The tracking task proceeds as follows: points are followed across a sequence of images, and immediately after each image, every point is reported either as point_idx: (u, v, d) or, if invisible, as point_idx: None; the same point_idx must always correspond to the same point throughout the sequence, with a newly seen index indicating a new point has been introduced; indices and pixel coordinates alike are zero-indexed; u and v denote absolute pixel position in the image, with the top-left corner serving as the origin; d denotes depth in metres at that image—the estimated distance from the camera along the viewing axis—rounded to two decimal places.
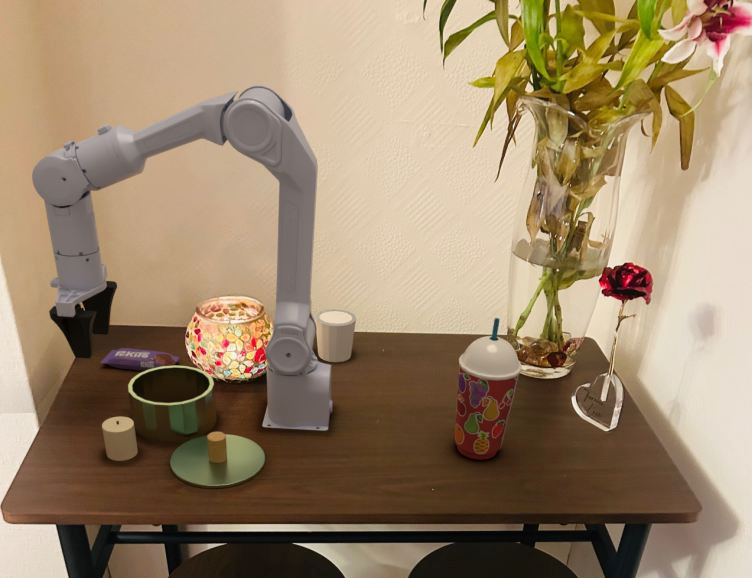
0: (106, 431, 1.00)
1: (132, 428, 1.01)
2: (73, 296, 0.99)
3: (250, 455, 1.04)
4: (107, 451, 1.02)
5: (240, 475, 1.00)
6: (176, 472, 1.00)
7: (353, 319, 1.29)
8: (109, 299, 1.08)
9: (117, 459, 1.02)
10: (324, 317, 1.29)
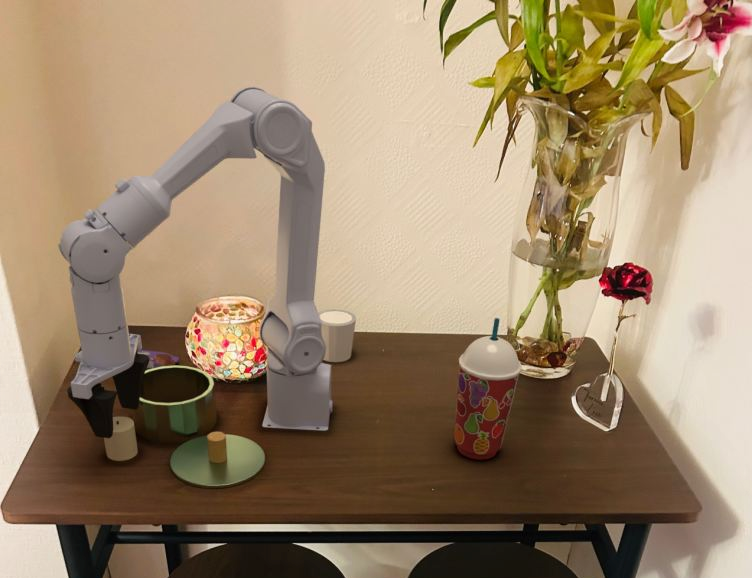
0: None
1: (132, 428, 1.01)
2: (92, 376, 0.92)
3: (250, 455, 1.04)
4: (107, 451, 1.02)
5: (240, 475, 1.00)
6: (176, 472, 1.00)
7: (353, 319, 1.29)
8: (139, 374, 1.01)
9: (117, 459, 1.02)
10: (324, 318, 1.29)
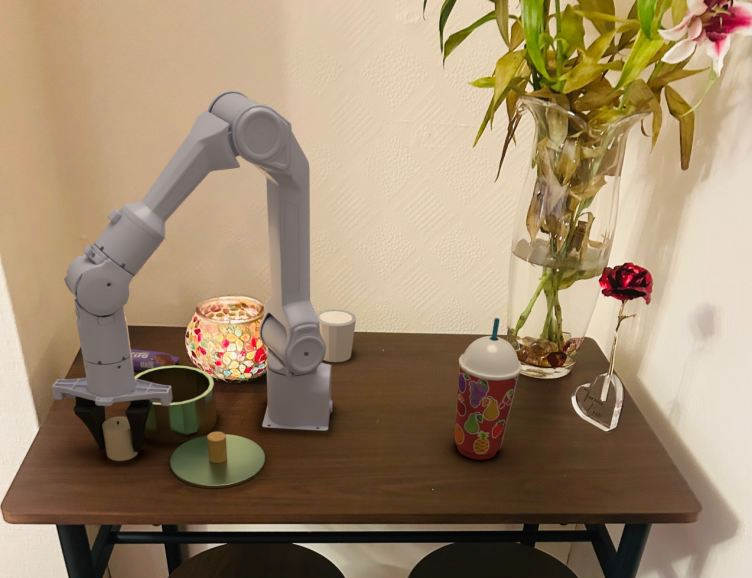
0: (107, 431, 1.00)
1: None
2: (150, 388, 0.99)
3: (250, 455, 1.04)
4: (107, 451, 1.02)
5: (240, 475, 1.00)
6: (176, 472, 1.00)
7: (353, 319, 1.29)
8: None
9: (117, 459, 1.02)
10: (324, 317, 1.29)
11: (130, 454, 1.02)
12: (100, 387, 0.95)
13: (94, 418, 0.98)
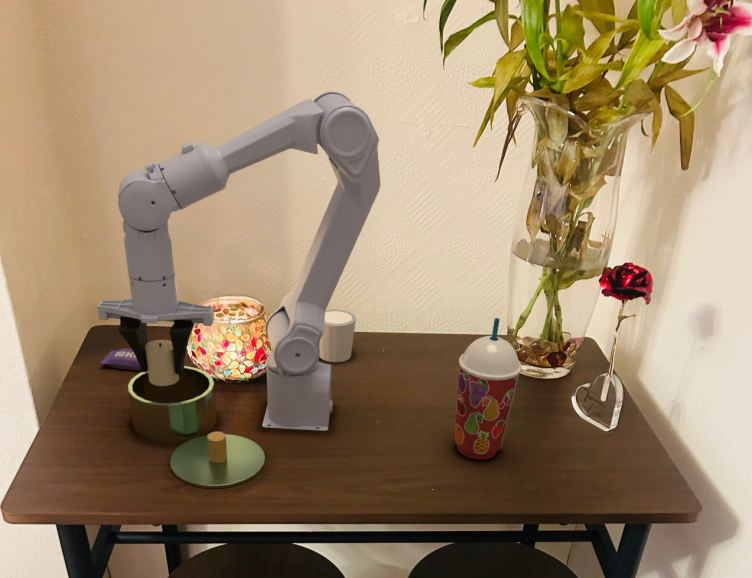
0: (150, 351, 1.02)
1: None
2: None
3: (250, 455, 1.04)
4: (149, 373, 1.04)
5: (240, 475, 1.00)
6: (176, 472, 1.00)
7: (353, 319, 1.29)
8: (146, 326, 1.04)
9: (159, 380, 1.04)
10: None
11: (172, 376, 1.04)
12: (145, 305, 0.97)
13: (138, 338, 1.01)
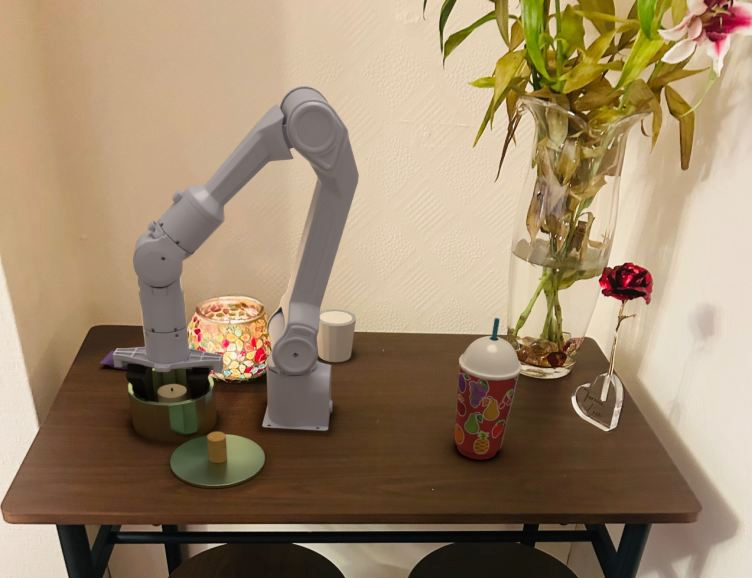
0: (162, 397, 1.07)
1: (185, 394, 1.08)
2: (203, 356, 1.06)
3: (250, 455, 1.04)
4: None
5: (240, 475, 1.00)
6: (176, 472, 1.00)
7: (353, 319, 1.29)
8: (152, 371, 1.09)
9: None
10: (324, 318, 1.29)
11: None
12: (159, 354, 1.02)
13: (144, 384, 1.06)
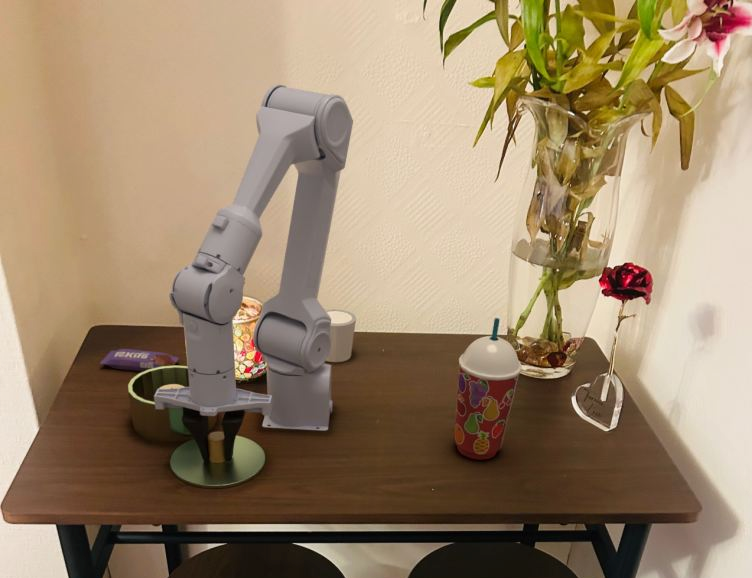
0: None
1: None
2: (251, 397, 0.98)
3: (250, 455, 1.04)
4: None
5: (240, 475, 1.00)
6: (176, 472, 1.00)
7: (353, 319, 1.29)
8: None
9: None
10: None
11: None
12: (205, 397, 0.94)
13: (201, 428, 0.98)
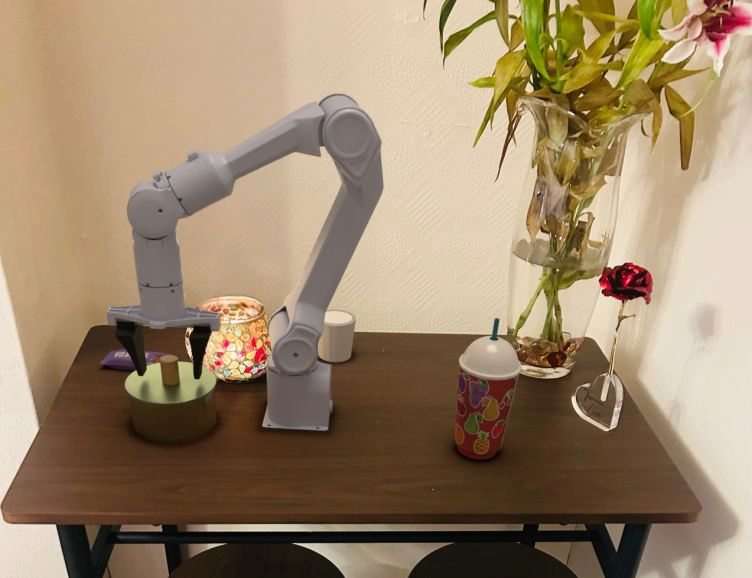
0: None
1: None
2: None
3: (202, 379, 1.09)
4: None
5: (191, 395, 1.05)
6: (129, 392, 1.04)
7: (353, 319, 1.29)
8: (142, 331, 1.06)
9: None
10: None
11: None
12: (154, 311, 0.99)
13: (134, 342, 1.02)
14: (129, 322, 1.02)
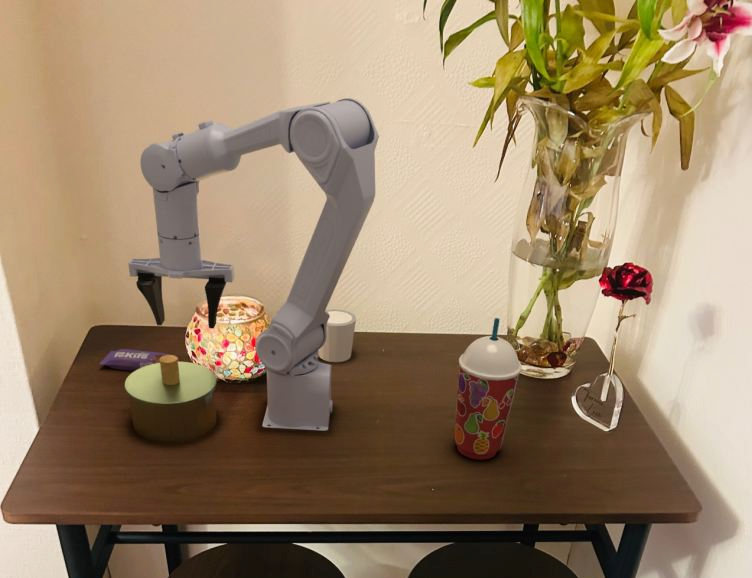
0: None
1: None
2: None
3: (202, 379, 1.09)
4: None
5: (191, 395, 1.05)
6: (129, 392, 1.04)
7: (353, 319, 1.29)
8: (161, 283, 1.14)
9: None
10: None
11: None
12: (173, 262, 1.07)
13: (154, 292, 1.10)
14: (149, 273, 1.10)
